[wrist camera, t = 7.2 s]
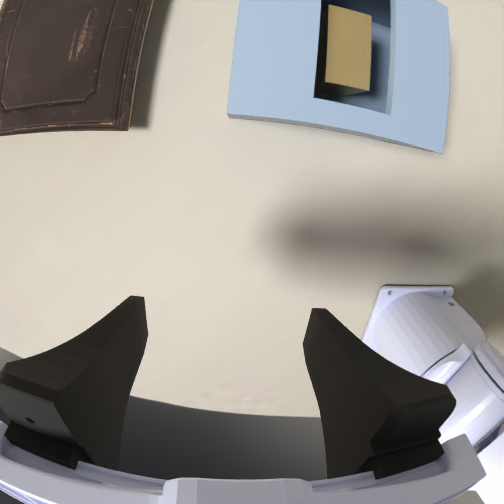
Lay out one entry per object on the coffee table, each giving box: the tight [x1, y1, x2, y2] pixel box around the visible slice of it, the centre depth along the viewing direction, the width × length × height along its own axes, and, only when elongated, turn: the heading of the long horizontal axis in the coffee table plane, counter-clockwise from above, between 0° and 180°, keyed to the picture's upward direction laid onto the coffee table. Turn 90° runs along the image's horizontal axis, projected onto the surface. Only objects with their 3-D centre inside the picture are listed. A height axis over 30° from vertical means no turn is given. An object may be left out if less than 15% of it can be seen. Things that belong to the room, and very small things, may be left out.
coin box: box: [227, 0, 450, 154], centre depth 14 cm, size 12×10×6 cm
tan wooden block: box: [314, 5, 371, 97], centre depth 14 cm, size 3×5×4 cm, turn 176°
